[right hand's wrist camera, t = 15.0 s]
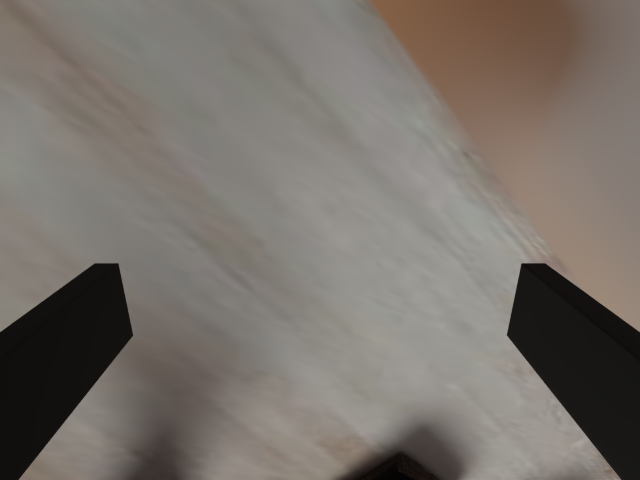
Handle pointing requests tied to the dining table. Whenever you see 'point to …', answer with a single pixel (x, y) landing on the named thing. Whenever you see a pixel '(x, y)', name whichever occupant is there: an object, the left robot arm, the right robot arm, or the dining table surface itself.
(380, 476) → the dark brown irregular piece
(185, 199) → the dining table surface
